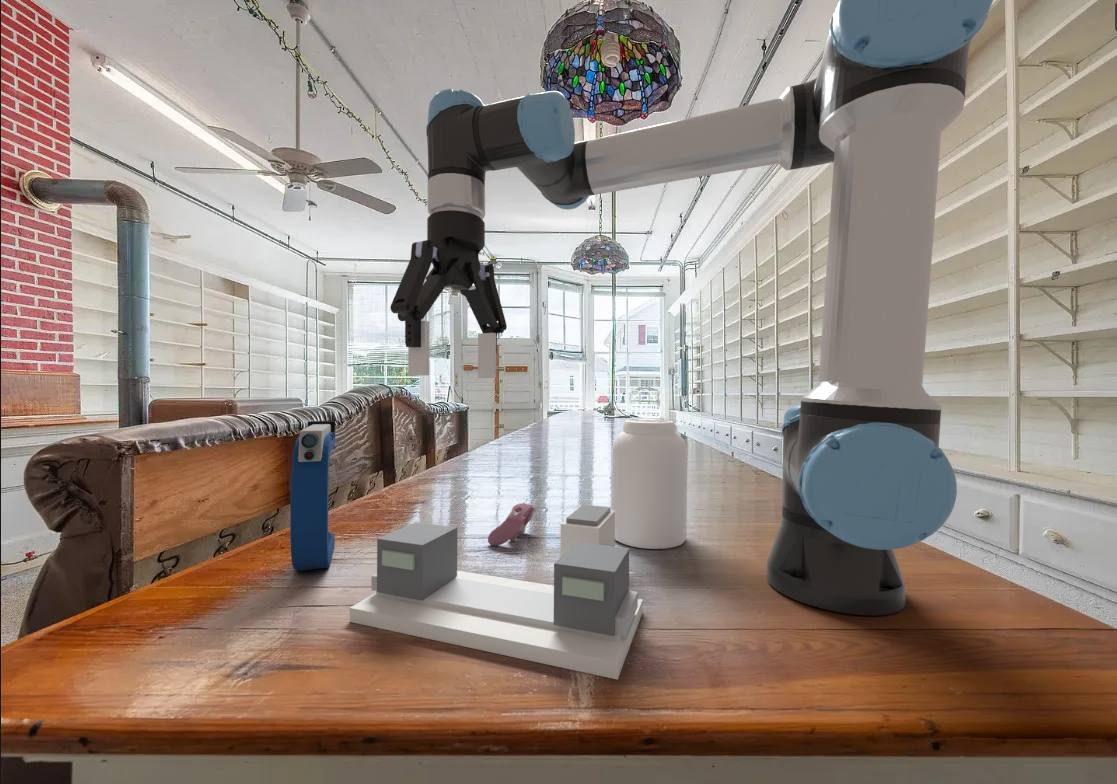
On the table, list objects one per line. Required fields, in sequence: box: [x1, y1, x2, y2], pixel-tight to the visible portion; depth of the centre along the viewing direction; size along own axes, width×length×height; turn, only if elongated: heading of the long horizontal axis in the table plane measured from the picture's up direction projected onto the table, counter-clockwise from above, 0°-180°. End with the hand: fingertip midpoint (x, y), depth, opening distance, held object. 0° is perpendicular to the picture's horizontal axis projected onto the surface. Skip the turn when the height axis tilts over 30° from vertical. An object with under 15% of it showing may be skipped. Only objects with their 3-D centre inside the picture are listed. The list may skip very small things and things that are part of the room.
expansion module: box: [559, 504, 616, 558], centre depth 64 cm, size 5×9×9 cm, turn 161°
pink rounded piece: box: [487, 502, 536, 547], centre depth 79 cm, size 10×5×7 cm, turn 169°
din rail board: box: [349, 521, 644, 680], centre depth 52 cm, size 29×13×8 cm, turn 71°
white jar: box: [610, 418, 688, 550], centre depth 80 cm, size 12×12×20 cm
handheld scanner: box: [289, 420, 336, 572], centre depth 68 cm, size 5×16×20 cm, turn 21°
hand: (456, 377), depth 64 cm, fingers open, 13 cm apart
